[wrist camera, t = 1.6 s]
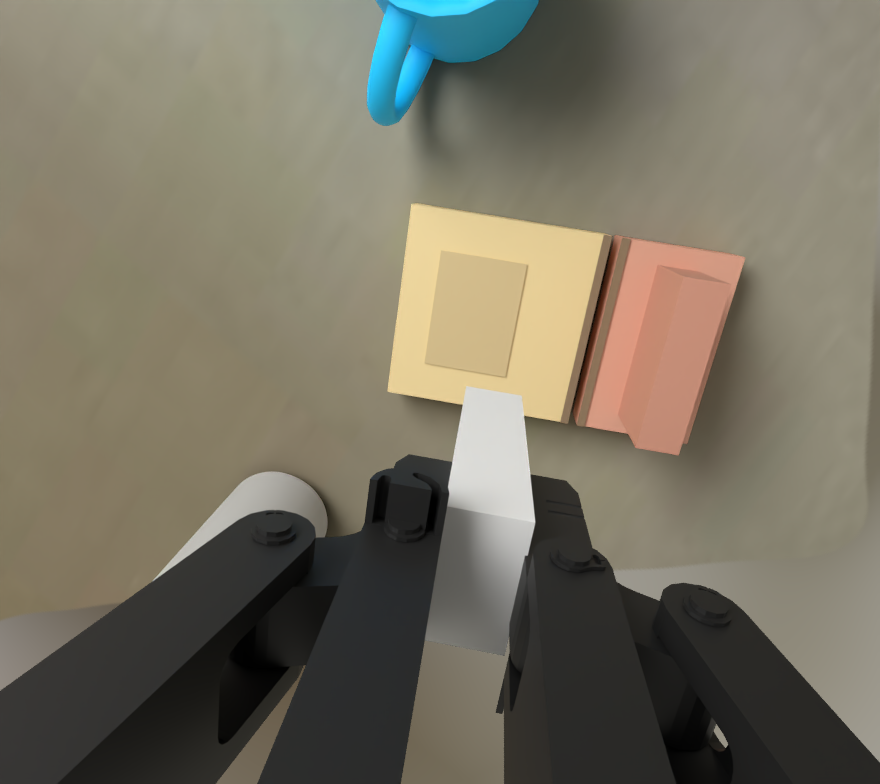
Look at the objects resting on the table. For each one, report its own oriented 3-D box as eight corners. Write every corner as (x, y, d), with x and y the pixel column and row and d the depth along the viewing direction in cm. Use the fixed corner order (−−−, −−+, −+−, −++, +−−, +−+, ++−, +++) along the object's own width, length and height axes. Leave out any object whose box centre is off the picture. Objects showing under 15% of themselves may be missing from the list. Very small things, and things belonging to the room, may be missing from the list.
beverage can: (217, 483, 38) (97, 605, 27) (305, 452, 37) (218, 567, 26) (262, 565, 40) (167, 712, 29) (347, 538, 39) (284, 681, 27)
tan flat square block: (417, 203, 32) (411, 203, 30) (605, 233, 31) (612, 236, 29) (393, 380, 35) (387, 392, 33) (563, 410, 34) (567, 423, 32)
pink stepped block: (614, 235, 31) (642, 245, 25) (730, 253, 31) (787, 268, 25) (572, 412, 34) (588, 459, 28) (676, 430, 34) (715, 482, 28)
